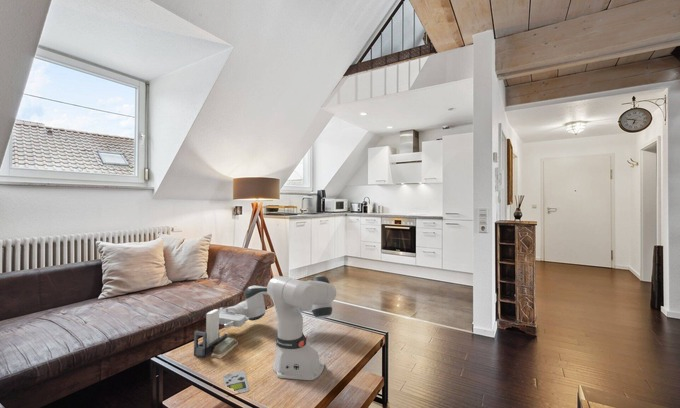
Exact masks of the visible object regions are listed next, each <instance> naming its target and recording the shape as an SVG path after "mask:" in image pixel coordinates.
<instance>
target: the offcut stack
mask: <svg viewBox="0 0 680 408" xmlns="http://www.w3.org/2000/svg"><path fill="white" fill-rule="evenodd" d="M238 345H239V341H238V340H237V338H235V337H234V338H233V337H227V338H226V339H225V340H224V341H222V342H221V343H220V344H218V345H217V346H215V349H214V350H213V352H212V353H211V354H210V357H211V358H215V359H222V358H224V357H225V356H226V355H227V354H228V353H229V352H231V351H232V350H234V349H235V348H236V347H237V346H238Z"/></svg>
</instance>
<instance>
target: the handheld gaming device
mask: <svg viewBox="0 0 680 408" xmlns="http://www.w3.org/2000/svg"><path fill="white" fill-rule="evenodd" d="M222 382H223V386H224V385H226V386H227V387H229V388H233V389H234V391H238V392H240V394H243V393H247V392H249V391H250V386H249V382H248V379H247V375H246V371H245V370H238V371H234V372H227V373H225V374H223V375H222Z"/></svg>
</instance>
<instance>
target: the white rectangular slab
mask: <svg viewBox="0 0 680 408" xmlns="http://www.w3.org/2000/svg"><path fill="white" fill-rule="evenodd" d="M219 310H220V309H218V308H217V309H215V308H214V309H213V310H210V311H208V312H207V313H206V315H205V317H206V318H205V319H206V320H205V321H206V322H205V326H206V327H205V328H206V329H205V332H207V345H209V344H211V343H212V342H214V341H215V340H217V339H218V338H220V329H219V328H220V324H219Z"/></svg>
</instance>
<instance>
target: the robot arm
mask: <svg viewBox="0 0 680 408" xmlns="http://www.w3.org/2000/svg"><path fill="white" fill-rule="evenodd" d="M243 295H244V299H245V300H242V301H240V302H239V303H237V304H235V305H233V306H224V307H223V306H222V307H219V309H218V310H219V325H223V328H225V329H227V328H231V327H235V328H240V327H242V326H244V325H245V324H246V323H247V321H252V322H253V321H257V320H260V319H262V318H263V317H264V316H265V314H266V304H265V299H264V295H267V296H269V297H270V299H271V301H272V303H273V305H274V309H275V313H276V317H277V319H276V320H277V334H276V338H275V339H276V343H275V344H276V352H275V358H274V363H273V366H272V368H273V371H274V372H275V373H276V377H277V378H279V379H290V380H301V381H314V380H316V379H317V378H319V377H320V376H321V374H322V373H323V371H324V369H325V363H324V361H322V360H320V357H319V353H318V351H317V350H316V349H315V348H313V346H312V345H310V344H309V343H308V342H307V340H308V338H309V337H308V335H305V334H304V331H303V330H304V329H303V328H304V317H303V314H302V313H303V312H308V311H311V313H312V314H313V316H314V318H318V319H326V318H328V317H329V316H331V315H332V314H333V307H332V306H333V305H332V303H333V302H334V300H335V299H336V297H337V290H336V287H335V286H334V285H333V284H331V283H330V280H329V278H328V277H327V276H326V275H316V276H314V277H312V278H311V279H310V280H309V279H308V280H306V281H305V280H301V279H300V280H299V279H296V278H292V277H287V276H284V275H279V276H277V275H276V276H273V277H272V278H271V279H269V281H268V283H267V285H266V286H265V285H264V286H263V285H251V286H247V288H245V291H244V293H243Z"/></svg>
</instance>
